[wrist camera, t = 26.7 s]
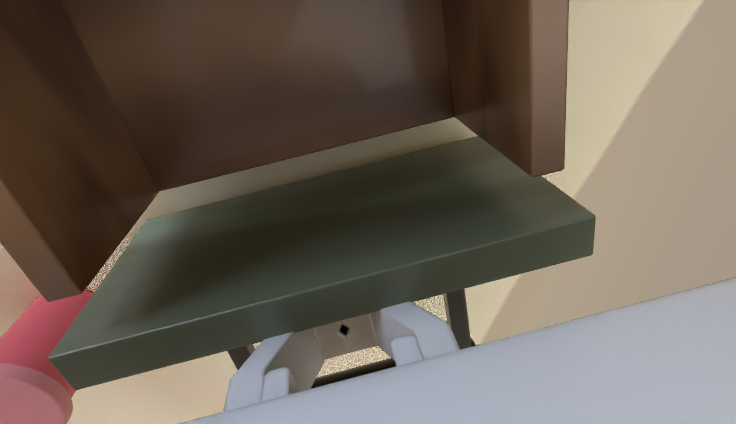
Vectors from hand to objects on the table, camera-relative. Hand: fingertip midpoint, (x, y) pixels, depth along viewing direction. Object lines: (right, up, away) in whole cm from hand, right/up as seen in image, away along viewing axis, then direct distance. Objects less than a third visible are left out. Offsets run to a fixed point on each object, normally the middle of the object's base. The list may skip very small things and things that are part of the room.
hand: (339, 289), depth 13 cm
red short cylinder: (-12, -2, +5) cm, 13 cm away
